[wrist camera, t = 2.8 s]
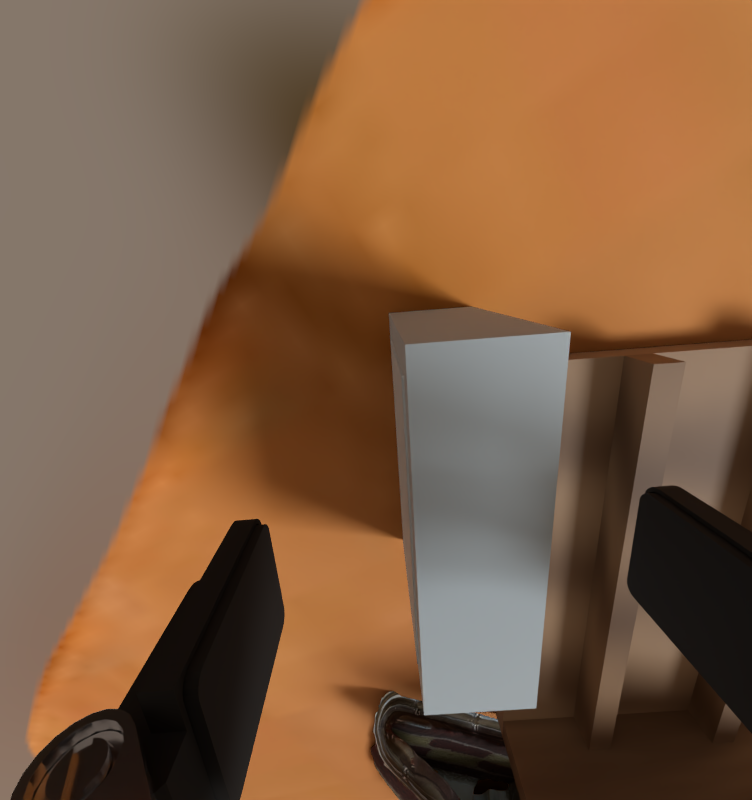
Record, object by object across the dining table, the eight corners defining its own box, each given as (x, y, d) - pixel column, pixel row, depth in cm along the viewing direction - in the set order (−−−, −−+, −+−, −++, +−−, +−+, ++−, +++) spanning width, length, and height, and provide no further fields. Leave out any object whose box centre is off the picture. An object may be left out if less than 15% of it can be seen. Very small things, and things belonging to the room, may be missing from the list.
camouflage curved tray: (324, 750, 22) (467, 1064, 16) (360, 717, 18) (571, 1121, 12) (427, 652, 28) (558, 849, 22) (470, 613, 24) (645, 838, 18)
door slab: (387, 312, 13) (402, 344, 7) (472, 306, 13) (573, 331, 7) (401, 538, 16) (422, 715, 10) (470, 533, 16) (538, 708, 10)
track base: (510, 357, 14) (742, 485, 5) (888, 329, 13) (1796, 411, 5) (496, 714, 20) (589, 1042, 11) (753, 699, 20) (1046, 1020, 11)
